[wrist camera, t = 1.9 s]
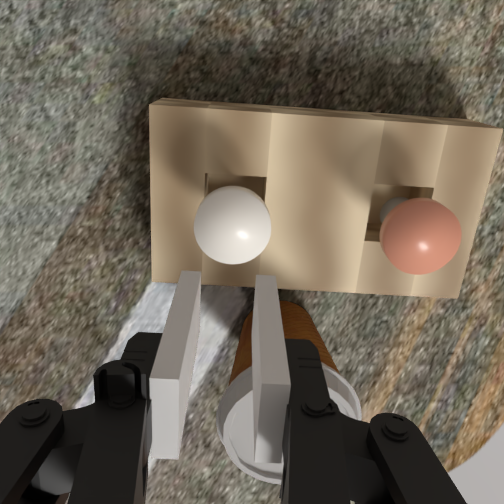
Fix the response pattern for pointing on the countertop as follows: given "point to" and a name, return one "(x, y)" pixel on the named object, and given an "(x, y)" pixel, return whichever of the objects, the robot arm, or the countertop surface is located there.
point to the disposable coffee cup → (241, 393)
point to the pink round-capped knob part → (418, 234)
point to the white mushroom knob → (232, 225)
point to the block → (313, 190)
